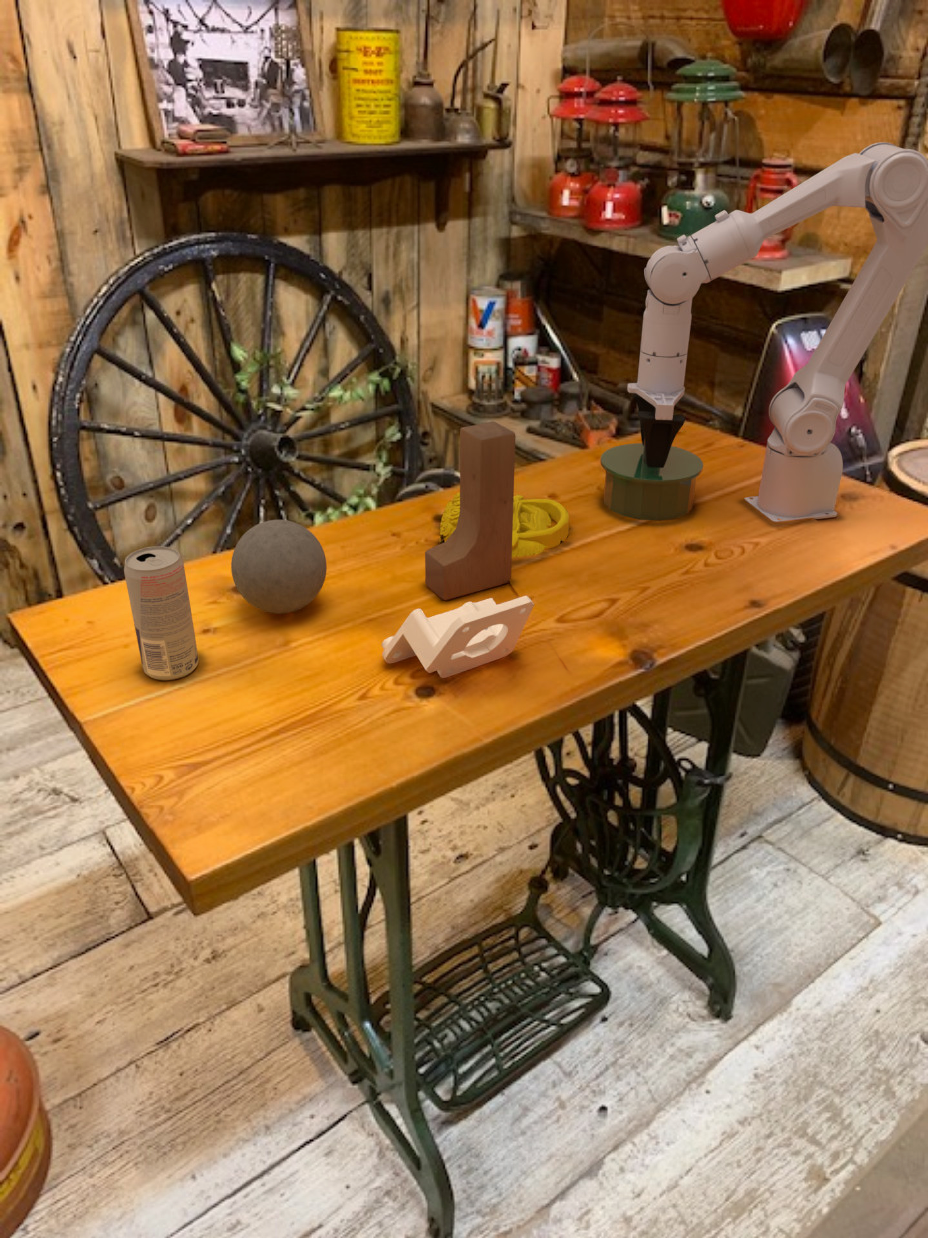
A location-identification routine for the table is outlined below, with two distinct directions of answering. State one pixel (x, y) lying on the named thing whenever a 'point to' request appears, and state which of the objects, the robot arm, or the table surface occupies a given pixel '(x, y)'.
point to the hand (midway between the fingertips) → (652, 455)
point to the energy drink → (161, 612)
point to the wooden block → (478, 517)
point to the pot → (648, 498)
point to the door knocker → (521, 524)
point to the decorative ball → (278, 566)
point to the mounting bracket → (460, 635)
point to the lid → (633, 467)
